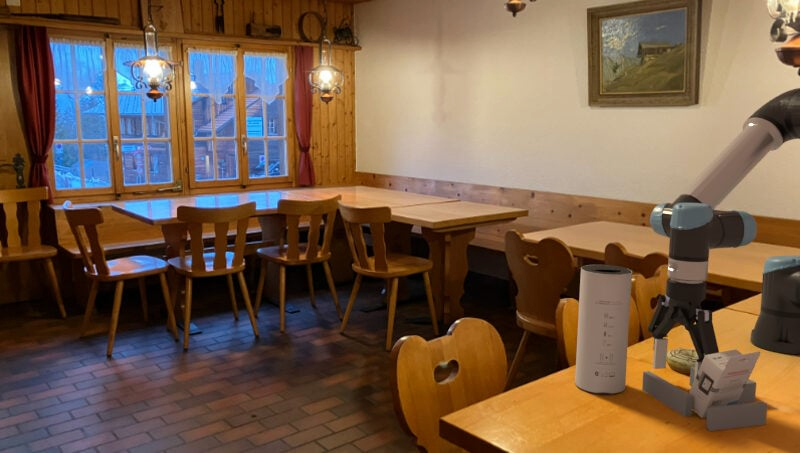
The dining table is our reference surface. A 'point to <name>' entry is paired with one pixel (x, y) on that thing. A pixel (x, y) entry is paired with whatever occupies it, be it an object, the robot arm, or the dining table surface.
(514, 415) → the dining table surface
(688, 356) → the decorated donut
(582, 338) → the speaker
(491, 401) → the dining table surface
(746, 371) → the ink box
